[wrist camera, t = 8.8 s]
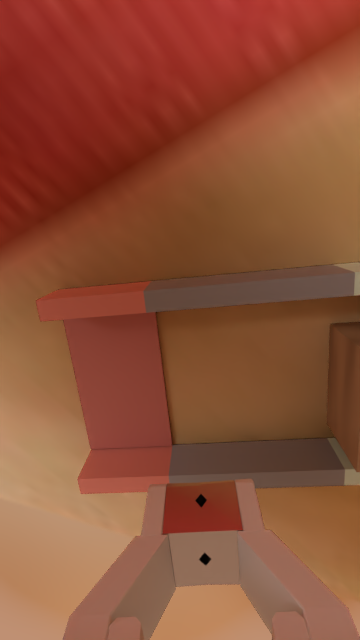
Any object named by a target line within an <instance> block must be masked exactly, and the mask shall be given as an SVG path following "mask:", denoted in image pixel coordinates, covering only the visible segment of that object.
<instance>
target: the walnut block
mask: <svg viewBox="0 0 360 640" xmlns="http://www.w3.org/2000/svg"><path fill="white" fill-rule="evenodd" d="M327 425H328V426H329V428H330V430H331V431H332V433H333V435H334V436H335V438H336V439H337V441H338V443H339V444H340V446H341V448H342V449H343V451H344V453H345V454H346V456H347V457H348V459H349V461H350V462H351V464H352V466H353V467H354V469H355V470H356V472H360V322H348V323H335V324H330V340H329V371H328V402H327Z"/></svg>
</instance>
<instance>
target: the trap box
mask: <svg viewBox="0 0 360 640" xmlns="http://www.w3.org/2000/svg"><path fill="white" fill-rule="evenodd" d="M356 295H360V262H354V263H343V264H332V265H321V266H310V267H299V268H288V269H277V270H266V271H255V272H244V273H233V274H223V275H212V276H201V277H190V278H179V279H168V280H157V281H146V282H135V283H124V284H113V285H102V286H91V287H80V288H69V289H58V290H56V291H54V292H52V293H50V294H48V295H46V296H44V297H42V298H40V299H38V300H36V305H37V309H38V313H39V318H40V321H52V320H63V321H64V326H65V331H66V335H67V340H68V345H69V349H70V354H71V359H72V363H73V368H74V373H75V377H76V382H77V387H78V392H79V396H80V401H81V406H82V410H83V415H84V420H85V424H86V429H87V434H88V438H89V443H90V448H91V449H92V450H91V452H90V454H89V456H88V458H87V460H86V462H85V464H84V466H83V469H82V471H81V473H80V475H79V477H78V484H79V488H80V492H81V494H92V493H124V492H148V488H149V486H150V484H167V483H199V482H211V481H226V480H234V481H235V480H240V479H252V480H253V482H254V486H255V488H282V487H314V486H346V485H360V472H356V470H355V469H354V467H353V466H352V464H351V462H350V461H349V459H348V457H347V456H346V454H345V453H344V451H343V449H342V448H341V446H340V444H339V443H338V441H337V439H336V438H315V439H293V440H270V441H248V442H225V443H203V444H180V445H172V437H171V429H170V421H169V413H168V405H167V398H166V390H165V382H164V374H163V367H162V359H161V351H160V343H159V335H158V328H157V320H156V312H162V311H174V310H186V309H198V308H210V307H222V306H234V305H247V304H259V303H271V302H283V301H295V300H307V299H320V298H332V297H344V296H356Z"/></svg>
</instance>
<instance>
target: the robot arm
mask: <svg viewBox="0 0 360 640" xmlns="http://www.w3.org/2000/svg"><path fill="white" fill-rule="evenodd" d="M208 584H209V585H212V584H213V585H215V584H219V585H222V584H240V586H241V588H242V589H243V591H244V592H245V594H246V596H247V597H248V599H249V600H250V601H251V603H252V604H253V606H254V608H255V609H256V611H257V612H258V614H259V616H260V617H261V618H262V620H263V622H264V623H265V625H266V626H267V628H268V629H269V631H270V632H271V634H272V640H360V637H359V634H358V632H357V629H356V627H355V624H354V622H353V619H352V617H351V615H350V612H349V610H348V608H347V607H346V606H345V605H344V604H343V603H342V602H341V601H340V600H339V599H338V598H337V597H336V596H335V594H334V593H333V592H332V591H331V590H330V589H329V588H328V587H327V586H326V585H325V584H324V583H323V582H322V581H321V580H320V579H319V578H318V577H317V576H316V575H315V574H314V573H313V572H312V571H311V570H310V569H309V568H308V567H307V566H306V565H305V564H304V563H303V562H302V561H301V560H300V559H299V558H298V557H297V556H296V555H295V554H294V553H293V552H292V551H291V550H290V549H289V548H288V547H287V546H286V545H285V544H284V543H283V542H282V541H281V540H280V539H279V538H278V537H277V536H276V535H275V534H274V533H273V532H272V531H271V530H265V527H264V523H263V519H262V515H261V511H260V507H259V502H258V498H257V494H256V490H255V486H254V482H253V480H252V479H240V480H235V481H234V480H226V481H211V482H199V483H167V484H150V486H149V488H148V493H147V499H146V506H145V513H144V519H143V526H142V532H141V536H135V538H134V539H133V540H132V541H131V542H130V544H129V545H128V546H127V547H126V549H125V550H124V551H123V552H122V553H121V555H120V556H119V557H118V558H117V560H116V561H115V562H114V563H113V564H112V566H111V567H110V568H109V569H108V571H107V572H106V573H105V574H104V576H103V577H102V578H101V579H100V580H99V582H98V583H97V584H96V585H95V586H94V588H93V589H92V590H91V591H90V592H89V594H88V595H87V596H86V597H85V599H84V600H83V601H82V602H81V603H80V605H79V606H78V607H77V608H76V609H75V611H74V612H73V613H72V614H71V616H70V617H69V621H68V623H67V627H66V630H65V634H64V637H63V640H150V638H151V636H152V634H153V632H154V630H155V628H156V626H157V624H158V622H159V620H160V619H161V617H162V615H163V613H164V611H165V609H166V607H167V605H168V603H169V601H170V599H171V597H172V595H173V593H174V591H175V587H181V586H195V585H208Z"/></svg>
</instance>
